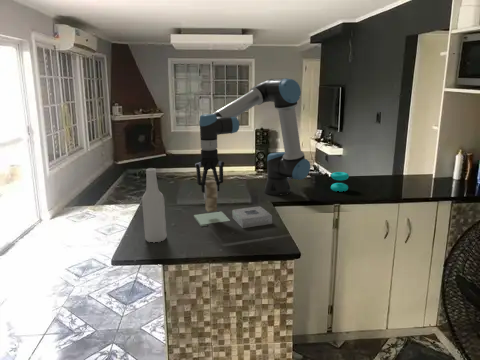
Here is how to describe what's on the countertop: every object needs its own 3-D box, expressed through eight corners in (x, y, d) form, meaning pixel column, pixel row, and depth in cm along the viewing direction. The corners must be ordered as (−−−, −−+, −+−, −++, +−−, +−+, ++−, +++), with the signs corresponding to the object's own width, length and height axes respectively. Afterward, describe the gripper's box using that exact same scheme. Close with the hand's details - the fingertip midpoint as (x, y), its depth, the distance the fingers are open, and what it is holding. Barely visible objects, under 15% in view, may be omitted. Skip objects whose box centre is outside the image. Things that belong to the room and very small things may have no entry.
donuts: (329, 171, 238) (346, 171, 238) (329, 187, 241) (345, 187, 241) (333, 175, 229) (350, 175, 228) (332, 192, 231) (350, 192, 231)
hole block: (260, 216, 194) (260, 206, 193) (272, 225, 181) (272, 215, 180) (232, 219, 189) (232, 209, 188) (242, 230, 177) (242, 219, 175)
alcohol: (168, 234, 173) (163, 166, 166) (165, 242, 164) (160, 171, 157) (147, 235, 173) (141, 166, 165) (143, 243, 164) (137, 171, 157)
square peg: (214, 208, 192) (213, 179, 188) (217, 210, 188) (216, 181, 184) (205, 209, 190) (204, 180, 187) (207, 212, 186) (206, 182, 183)
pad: (221, 213, 199) (221, 211, 199) (230, 222, 186) (230, 220, 186) (193, 217, 194) (193, 215, 194) (200, 226, 182) (200, 224, 181)
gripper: (192, 151, 176) (194, 202, 181) (230, 148, 181) (231, 198, 187) (188, 148, 183) (190, 198, 188) (225, 146, 188) (226, 194, 194)
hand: (210, 198), depth 188 cm, fingers closed on square peg, 4 cm apart
